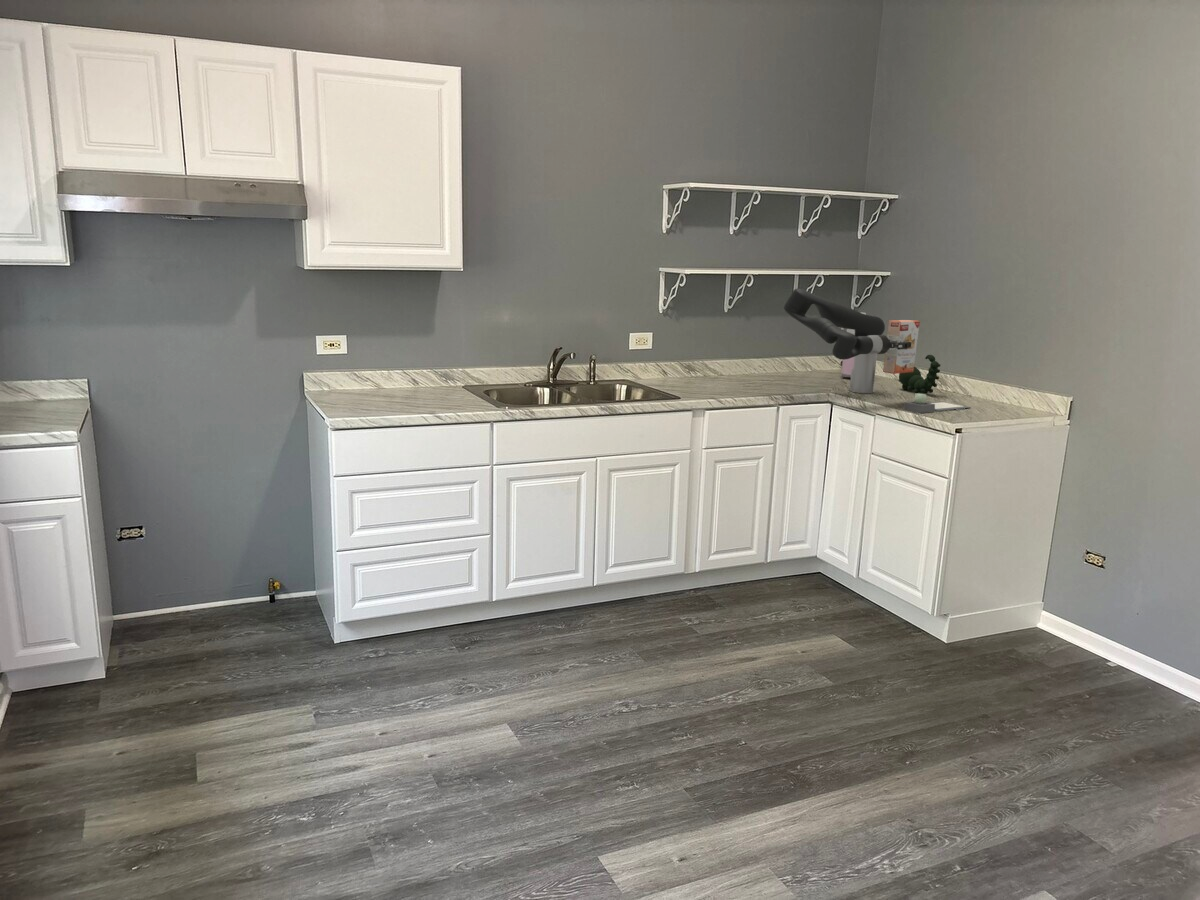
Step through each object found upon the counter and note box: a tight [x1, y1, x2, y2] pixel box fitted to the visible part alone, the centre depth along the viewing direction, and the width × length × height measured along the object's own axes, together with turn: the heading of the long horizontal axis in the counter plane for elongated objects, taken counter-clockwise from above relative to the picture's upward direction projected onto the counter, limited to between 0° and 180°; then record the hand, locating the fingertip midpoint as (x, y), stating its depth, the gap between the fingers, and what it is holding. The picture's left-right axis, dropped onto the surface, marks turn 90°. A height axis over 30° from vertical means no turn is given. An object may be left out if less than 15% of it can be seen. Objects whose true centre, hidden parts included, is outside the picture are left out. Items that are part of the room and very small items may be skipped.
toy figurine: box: [898, 354, 941, 394], centre depth 384 cm, size 9×19×25 cm
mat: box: [929, 401, 971, 412], centre depth 347 cm, size 14×20×1 cm
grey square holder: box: [903, 400, 935, 414], centre depth 336 cm, size 8×8×3 cm
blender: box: [839, 311, 867, 379], centre depth 421 cm, size 16×12×32 cm
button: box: [913, 392, 927, 405], centre depth 335 cm, size 4×4×4 cm
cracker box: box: [882, 319, 921, 375], centre depth 347 cm, size 14×6×21 cm, turn 130°
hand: (903, 343), depth 347 cm, fingers closed on cracker box, 6 cm apart
